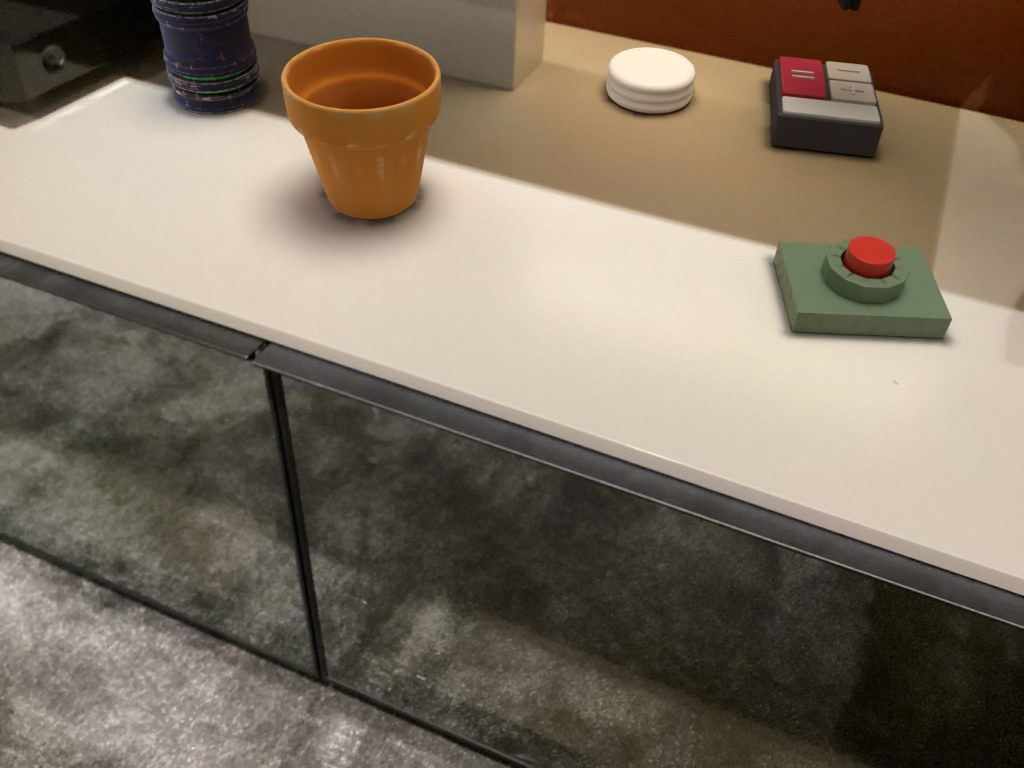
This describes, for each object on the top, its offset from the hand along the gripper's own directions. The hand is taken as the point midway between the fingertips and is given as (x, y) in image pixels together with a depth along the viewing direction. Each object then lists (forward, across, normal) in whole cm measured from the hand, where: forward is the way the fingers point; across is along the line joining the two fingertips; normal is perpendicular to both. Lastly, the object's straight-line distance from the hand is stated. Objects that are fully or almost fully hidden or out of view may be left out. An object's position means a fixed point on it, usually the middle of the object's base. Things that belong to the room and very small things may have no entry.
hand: (847, 4), depth 100 cm
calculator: (+13, 0, 0) cm, 13 cm away
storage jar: (+14, -68, 0) cm, 69 cm away
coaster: (+13, -18, +4) cm, 23 cm away
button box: (+13, -2, -32) cm, 35 cm away
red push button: (+9, -3, -32) cm, 34 cm away
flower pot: (+13, -48, -19) cm, 53 cm away
